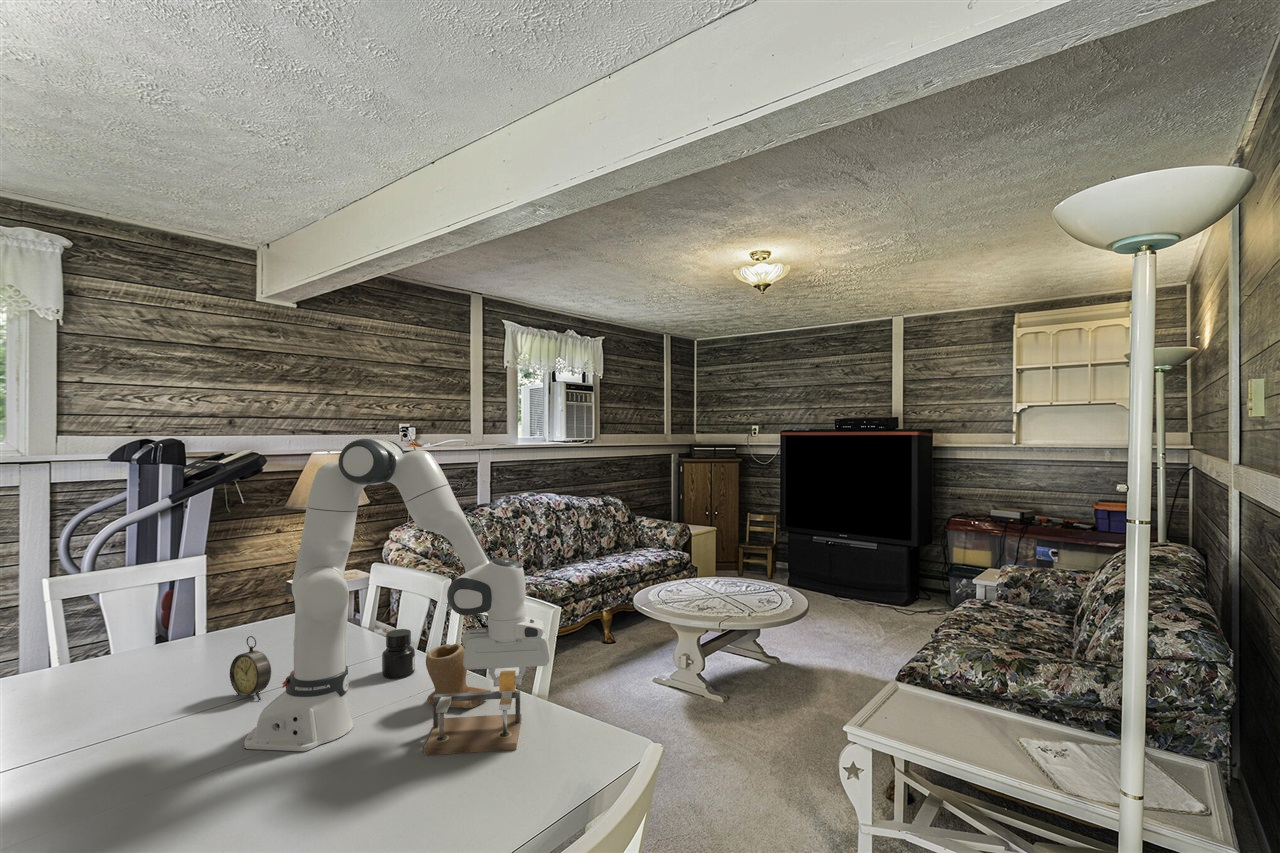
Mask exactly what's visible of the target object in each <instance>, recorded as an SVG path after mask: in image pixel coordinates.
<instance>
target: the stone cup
mask: <svg viewBox="0 0 1280 853" xmlns="http://www.w3.org/2000/svg"><path fill="white" fill-rule="evenodd" d="M464 652H465V647H464V645H463V644H460V643H454V644H442V645H439V646H437V647H435V648H432V649H431V650H430V651H429V652H428V653H427V655H426V656H425V666H426V670H427V673H428V675H429V678H430V679H431V682H432V684H433V686H434V687H433V688H434V691H432V692H431V693H430V694H429V695H428V696H427V698H426V699H427V700H426V701H427V702H429V703H430V704H432V705H433V697H434V695H435V694H453V693H472V692H492V690H491V689H484V688H479V687H474V686H473V687H472V686H468V685H467V683H466V682H467V674H468V673H467V671H468V670H467V669H466V668H465V667H464V666H463V661H464ZM485 701H486V700H471V701H452V702H451V704H450V706H449V708H450V707H451V708H452V707H453V708H460V709H471V708H475V707H477V706H479V705H481V704H482V703H484V702H485Z"/></svg>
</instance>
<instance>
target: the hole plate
mask: <svg viewBox="0 0 1280 853" xmlns="http://www.w3.org/2000/svg"><path fill="white" fill-rule="evenodd" d="M501 696H502V693H499V690H498V691H497V690H495V691H492V690H491V692H472V693H453V694H435V695H434V697H433V704H432V715H433V716H432V718H433V719H432V720H433V721H432V722H433V723H432V725H433V728H432V730H431V732H430V734H429V736H428V739H427V741H426V744H424V748H423V756H434V755H435V756H436V755H449V754H450V755H451V754H464V753H465V754H467V753H482V752H483V753H484V752H498V751H512V750H513V751H515V750H517V749H518V743H519V742H518V741H519V737H520V731H519V730H521V725H522V713H521V690H520V689H515V692H512V699H515V707H514V708H515V713H512V714H511V713H510V714H508V713H507V733H506V734H504V733H503V714H495V715H494V714H493V715H475V716H473V715H472V716H457V717H445V714H447V713H448V710H449V708H450V704H451V702H452V701H471V700H485V701H487V700H501ZM520 724H521V725H520ZM518 736H519V737H518Z"/></svg>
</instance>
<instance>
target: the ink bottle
mask: <svg viewBox="0 0 1280 853" xmlns="http://www.w3.org/2000/svg"><path fill="white" fill-rule="evenodd" d="M411 642H412V631H411V630H410V629H407V628H399V629H393V630H389V631H388V632H386V633H385V647H386V648H385V650H384V651H383V652H382V655H381V671H382V672H381V674H382V677H384V679H385V678H386V679H389V680H398V679H403V678H406V677H409V676H411V675H412V674H413V673H415V670H416V654H415V653H416V651H415V648H414V647H413V646H412V645H411V644H412V643H411Z"/></svg>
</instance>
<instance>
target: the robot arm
mask: <svg viewBox="0 0 1280 853" xmlns="http://www.w3.org/2000/svg"><path fill="white" fill-rule="evenodd" d="M386 483H391V484H392V485H394V486H395V487H396V489H397V490H398V493H400V495H401V498H402V501H403V503H404V504H405V507H406V510H407V512H408V514H409V516H410V517H411V518H412V520H413V521H414V523H415V524H416V526H418V527H419V528H421V529H422V530H423V531H424V530H425V531H428V532H433V533H436V534H438V535H439V536H440V535H441V536H443V537H444V538H445V539H447V540H448V541H449V542H450V544H451V545H452V547H453V549H454V551H455V553H456V554H457V556H458V558H459V560H460V562H461V563H462V565H463V568H464V570H465V572H464V573H463V574H461V575H460V576H458V577H457V578H455V579H454V580H453V581H452V582H451V583H450V585H449V586H448V588H447V593H446V599H447V603H448V604H449V606H450V608H451V610H453V611H454V613H456V614H458V615H460V616H472V615H473V616H475V615H479V614H484V613H487V626H488V627H481V628H470V629H468V630H466V631H465V632H464V633H463V634H462V646H463V647H464V648H465V652H464V661H463V666H464V667H465V668H466V669H467V671H471V670H487V669H488V674H489V676H490V677H491V679H492V680H493V687H495V688H496V687H499V676H498V675H497V673H496V669H509V668H513V669H515V668H518V671H519V673H518V675H516V676H515V685H516V686H521V685H522V677H523V676H524V674H525V673H526V669H527V668H529V667H530V668H533V667H547V666H548V665H549V663H550V661H551V652H550V651H551V650H550V641H549V638H548V635H547V633H546V632H545V622H544V621H543V620H541V619H538V618H535V617H530V616H527V613H526V612H527V611H526V608H525V599H526V594H527V593H526V579H525V578H526V576H525V571H524V567H523V566H522V564H521V562H520V561H517V560H516V559H512V558H508V557H497V558H493V559H491V558H490V557H489V555H488V554H487V552H486V550H485V548H484V547H483V545H482V542H481V541H480V539H479V538H478V536H477V533H476V531H475V530H474V528H473V526H472V525H471V523H470V521H469V520H468V518H467V517H466V515H465V513H464V511H463V510H462V508H461V506H460V504H459V502H458V501H457V500H458V499H456V496H455V494H454V492H453V490H452V487H451V486H450V484H449V482H448V479H447V477H446V476H445V473H444V471H443V470H442V468H441V466H440V465H439V463H438V462H437V460H436V459H435V458H434V456H433V455H432V454H431V453H430V452H428V451H427V450H423V449H417V450H411V451H408V452H405V450H404V449H403V448H402V447H401V446H400V445H399V444H398V443H396V442H394V441H391V440H386V439H382V438H376V437H375V438H359V439H355V440H353V441H351V442H350V443H348V444H347V445H345V447H343V449H342V450H341V452H340V454H339V457H338V461H336V462H329V463H325V464H323V465H321V466H320V467H319V468H318V469H317V471H316V473H315V475H314V477H313V480H312V483H311V486H310V489H309V490H310V491H309V493H308V497H307V503H306V507H305V515H304V521H303V528H302V535H301V540H300V545H299V548H298V552H297V553H298V554H297V559H296V562H295V567H294V571H293V576H292V583H291V592H292V596H293V600H294V610H295V611H294V633H293V634H294V636H293V670H292V671H291V672H290V673H289V675H288V676H286V678H285V680H283V682H282V683H281V685H282V687H281V688H282V689H284V688H285V690H284V691H283V692H282V693H280V695H278V696H277V697H276V698H274V699H273V700H272V701H271V702H269V703H268V704H267V705H266V706H265V707H264V708H263V710H261V713H260V714H259V716H258V719H257V722H256V727H254V728H253V729H252V730H251V731H250V732H249V733H248V734H247V736H246V737H245V739H244V744H243V747H244V749H245V748H246V750H267V751H286V752H287V751H288V752H289V751H290V752H292V751H293V752H306V751H310V750H312V749H314V748H316V747H317V746H319V745H322V744H326V743H329V742H332V741H335V740H337V739H339V738H341V737H343V736H344V735H346V734H348V733H349V732H350V731H351V730H352V729H353V728H354V725H355V722H354V719H353V716H352V714H351V709H350V708H351V707H350V704H349V697H348V691H349V684H350V683H349V681H350V679H349V678H350V677H349V676H350V675H349V668H348V665H347V629H348V628H347V627H348V620H349V619H348V618H349V605H350V604H349V602H350V588H349V584H348V583H347V581H346V580H345V569H346V565H347V562H348V559H349V555H350V554H349V553H350V551H351V548H352V545H353V541H354V536H355V535H354V534H355V528H356V523H357V515H358V508H359V502H360V496H361V494H362V491H363V489H364V488H365V487H367V486H374V485H375V486H378V485H382V484H386Z"/></svg>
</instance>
